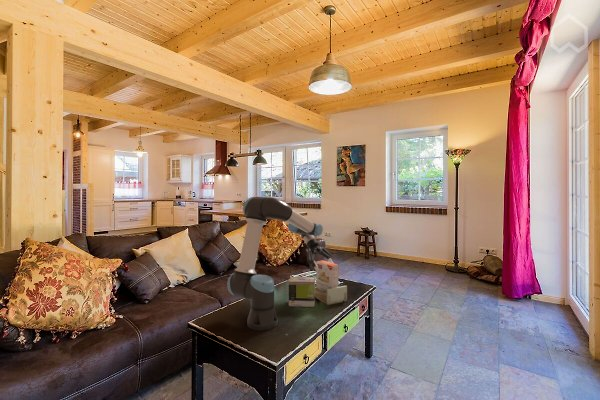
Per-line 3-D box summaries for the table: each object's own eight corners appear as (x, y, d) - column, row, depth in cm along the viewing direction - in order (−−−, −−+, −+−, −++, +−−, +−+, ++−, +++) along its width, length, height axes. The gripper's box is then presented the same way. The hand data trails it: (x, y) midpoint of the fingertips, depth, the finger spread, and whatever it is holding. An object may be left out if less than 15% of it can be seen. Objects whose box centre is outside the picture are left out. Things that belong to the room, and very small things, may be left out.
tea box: (315, 301, 178) (315, 276, 177) (314, 307, 168) (314, 282, 167) (290, 299, 179) (290, 275, 178) (288, 306, 169) (288, 281, 169)
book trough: (327, 305, 171) (327, 289, 171) (312, 295, 186) (312, 281, 186) (346, 300, 178) (347, 286, 178) (330, 292, 193) (330, 278, 193)
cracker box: (315, 294, 186) (315, 261, 185) (322, 291, 190) (322, 259, 189) (331, 300, 175) (332, 265, 174) (338, 298, 179) (338, 264, 178)
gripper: (322, 243, 206) (337, 269, 195) (293, 247, 190) (308, 275, 179) (327, 236, 202) (343, 262, 190) (298, 240, 186) (314, 269, 175)
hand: (326, 269), depth 185 cm, fingers open, 13 cm apart
